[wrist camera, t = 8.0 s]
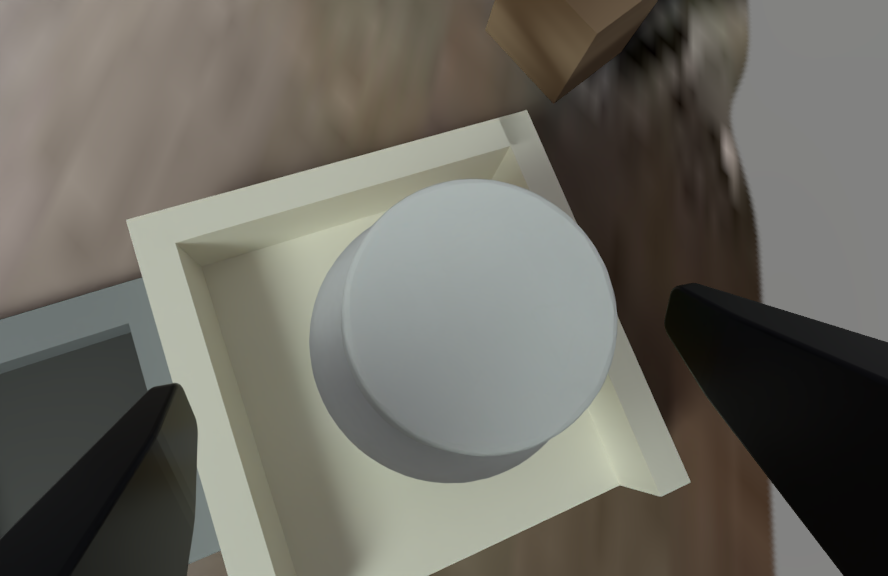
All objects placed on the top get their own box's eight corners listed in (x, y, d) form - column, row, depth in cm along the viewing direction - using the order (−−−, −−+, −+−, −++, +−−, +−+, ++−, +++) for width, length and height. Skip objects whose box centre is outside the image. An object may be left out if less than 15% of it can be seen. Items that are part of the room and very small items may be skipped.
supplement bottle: (529, 396, 17) (738, 375, 8) (384, 492, 16) (421, 609, 6) (443, 255, 18) (538, 77, 8) (297, 336, 16) (212, 233, 7)
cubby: (636, 470, 18) (690, 482, 15) (280, 637, 15) (261, 691, 12) (502, 154, 19) (526, 110, 17) (165, 252, 17) (125, 220, 14)
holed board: (248, 532, 15) (240, 542, 14) (-61, 662, 14) (-100, 685, 12) (174, 281, 17) (160, 271, 16) (-118, 370, 15) (-158, 366, 14)
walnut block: (619, 53, 22) (676, -25, 18) (552, 104, 20) (596, 34, 17) (554, -16, 22) (595, -108, 18) (485, 31, 21) (512, -55, 17)
